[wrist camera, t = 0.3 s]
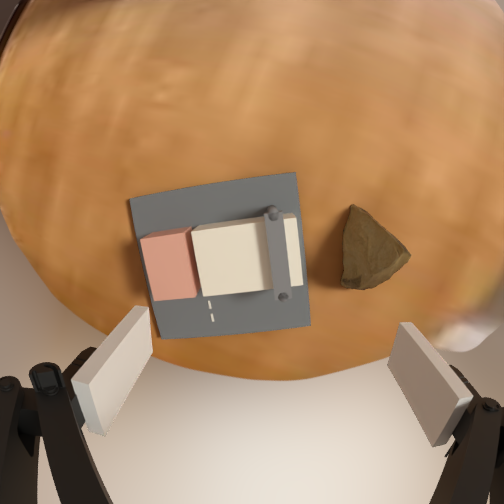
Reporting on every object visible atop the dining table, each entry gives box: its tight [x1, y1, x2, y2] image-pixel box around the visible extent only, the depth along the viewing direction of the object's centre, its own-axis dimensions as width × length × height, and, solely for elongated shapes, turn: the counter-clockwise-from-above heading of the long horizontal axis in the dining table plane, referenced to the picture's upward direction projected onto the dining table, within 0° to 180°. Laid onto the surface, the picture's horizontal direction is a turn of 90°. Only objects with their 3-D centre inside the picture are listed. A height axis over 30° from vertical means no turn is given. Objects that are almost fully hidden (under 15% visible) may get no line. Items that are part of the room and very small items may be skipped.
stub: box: [140, 226, 201, 301], centre depth 38 cm, size 8×6×4 cm
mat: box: [130, 172, 311, 339], centre depth 41 cm, size 21×22×1 cm
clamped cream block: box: [191, 205, 303, 302], centre depth 37 cm, size 11×12×6 cm
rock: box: [341, 204, 411, 290], centre depth 37 cm, size 11×9×10 cm
